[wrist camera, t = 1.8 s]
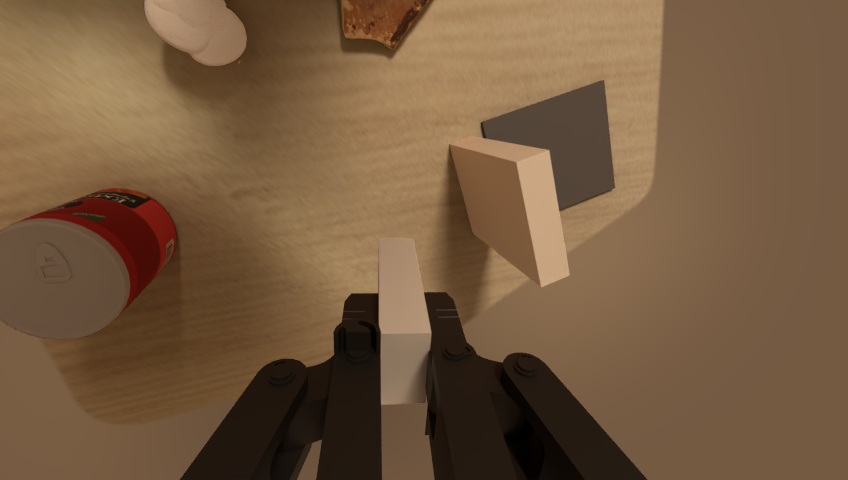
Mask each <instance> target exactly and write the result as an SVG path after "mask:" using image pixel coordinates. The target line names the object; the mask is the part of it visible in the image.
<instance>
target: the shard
mask: <svg viewBox="0 0 848 480" xmlns="http://www.w3.org/2000/svg"><path fill="white" fill-rule="evenodd" d="M428 1H429V0H341V15H342V28H343V33H344V37H345V38H351V39H356V38H360V39H372V40H376V41H379V42H380V43H382V44H383V45H385V46H386V47H388V48H390V49H392V50H395V48H396V46H397V44H398V43H399V42H400V40H401V38H402V37H403V36H404V34H405V33H406V32H407V31H408V28H409V27H410V26H411V24H412V23H413V21H414V20H415V19H416V17H417V16H418V14H419V13H420V11H421V10H422V8H423V7H424V6H425V5H426V3H427V2H428Z"/></svg>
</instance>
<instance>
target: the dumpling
mask: <svg viewBox="0 0 848 480" xmlns="http://www.w3.org/2000/svg"><path fill="white" fill-rule="evenodd" d="M144 4H145V7H144V11H145V15H146V18H147V20H148V22H149V24H150V26H151V27H152V29H153V30H154V31H155V32H156V33H157V34H158V35H159V36H160V37H161V38H162V39H163V40H164V41H166V42H167V43H168V44H170V45H171V46H173V47H175V48H177V49H179V50H181V51H184V52H187V53H189V54H190V55H191V57H192V58H193V59H194V60H196V61H197V62H199V63H201V64H204V65H207V66H221V65H225V64H229V63H231V62H233V61H234V60H236V59H237V58H239V57H240V56H241V55H242V53H243V52H244V50H245V48H246V41H247V36H246V30H245V28H244V25H243V23H242V22H241V20H239V18H238V17H237V16H236V15H235V13H233V11H231V10H230V9H228V8H226V3H225V1H224V0H145V2H144ZM241 18H242V17H241ZM240 61H241V60H240ZM240 61H239V63H240ZM239 63H238V64H239ZM238 64H237V65H238Z"/></svg>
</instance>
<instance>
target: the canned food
mask: <svg viewBox="0 0 848 480" xmlns="http://www.w3.org/2000/svg"><path fill="white" fill-rule="evenodd" d="M176 240H177V239H176V228H175V225H174V222H173V220H172V218H171V217H170V215H169V213H168V212H167V211H166V210H165V208H164V207H163V206H162V205H161V204H159V203H158V202H157V201H156V200H154V199H152V198H151V197H149V196H147V195H145V194H142V193H140V192H136V191H132V190H127V189H117V188H112V189H105V190H101V191H98V192H95V193H92V194H89V195H87V196H84V197H81V198H79V199H76V200H73V201H71V202H68V203H65V204H63V205H60V206H57V207H55V208H52V209H49V210H47V211H44V212H41V213H39V214H36V215H33V216H31V217H28V218H26V219H23V220H21V221H19V222H16V223H14V224H11V225H9V226H7V227H5V228H4V229H2V230H0V320H1V321H2V322H4V323H5V324H7V325H9V326H10V327H12V328H14V329H16V330H18V331H20V332H23V333H26V334H28V335H31V336H35V337H39V338H44V339H54V340H66V339H75V338H80V337H85V336H88V335H90V334H93V333H95V332H97V331H99V330H101V329H102V328H104V327H106V326H107V325H108V324H109V323H111V322H112V321H113V320H114V319H115V318H117V317H118V316H119V315H120V314H121V313H122V311H123V310H125V309H126V308H127V307H128V306H129V304H130V303H131V302H132V301H133V300H134V299H135V298H136V297H137V296H138V295H139V294H140V293H141V291H142V290H143V289H144V288H145V287H146V286H147V285H148V284H149V283H150V282H151V281H152V279H153V278H154V277H155V276H156V275H157V274H158V273H159V272H160V271H161V270H162V269H163V268H164V266H165V265H166V264H167V263H168V262H169V260H170V259H171V257H172V256H173V253H174V251H175V248H176Z"/></svg>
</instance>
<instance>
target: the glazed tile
mask: <svg viewBox="0 0 848 480" xmlns="http://www.w3.org/2000/svg"><path fill="white" fill-rule="evenodd" d="M449 145H450V149H451V153H452V157H453V161H454V164H455V168H456V172H457V176H458V180H459V183H460V187H461V191H462V195H463V199H464V202H465V206H466V210H467V214H468V217H469V221H470V225H471V229H472V233H473V234H474V235H476V236H477V237H478V238H479V239H481V240H482V241H483V242H484V243H486V244H487V245H488V246H489V247H491V248H492V249H493V250H495V251H496V252H497V253H498V254H500V255H501V256H502V257H503V258H505V259H506V260H507V261H509V262H510V263H511V264H512V265H514V266H515V267H516V268H517V269H519V270H520V271H521V272H522V273H524V274H525V275H526V276H528V277H529V278H530V279H531V280H533V281H534V282H535V283H536V284H538V285H539V286H540V287H543V286H545V285H548V284H550V283H552V282H555V281H557V280H560V279H562V278H564V277H567V276H569V275H570V274H569V268H568V262H567V256H566V250H565V244H564V238H563V231H562V225H561V219H560V213H559V207H558V201H557V195H556V189H555V183H554V177H553V170H552V164H551V158H550V152H549V150H546V149H541V148H535V147H529V146H524V145H518V144H513V143H507V142H502V141H496V140H490V139H485V138H479V137H474V136H471V137H468V138H465V139H462V140H460V141H457V142H454V143H451V144H449Z"/></svg>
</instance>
